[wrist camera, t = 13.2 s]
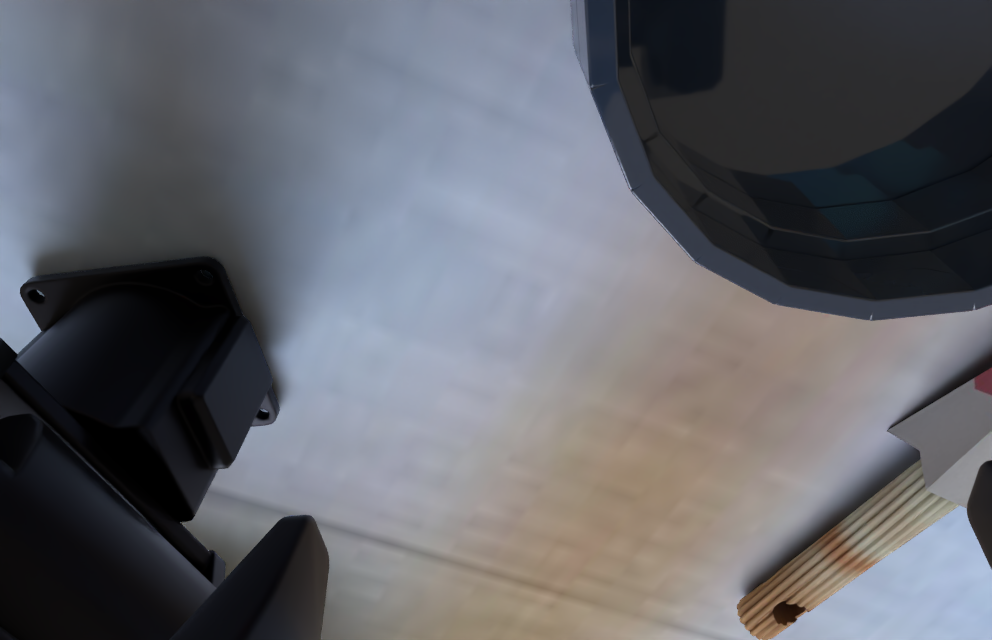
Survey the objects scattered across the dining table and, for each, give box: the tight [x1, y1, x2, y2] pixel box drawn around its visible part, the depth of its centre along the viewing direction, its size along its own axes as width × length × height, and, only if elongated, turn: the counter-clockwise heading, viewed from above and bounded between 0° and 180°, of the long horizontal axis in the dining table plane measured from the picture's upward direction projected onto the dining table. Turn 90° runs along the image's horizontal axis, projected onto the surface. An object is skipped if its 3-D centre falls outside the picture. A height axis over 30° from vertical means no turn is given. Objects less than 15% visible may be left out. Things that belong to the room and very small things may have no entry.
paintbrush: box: [737, 368, 992, 640], centre depth 24 cm, size 4×3×20 cm
